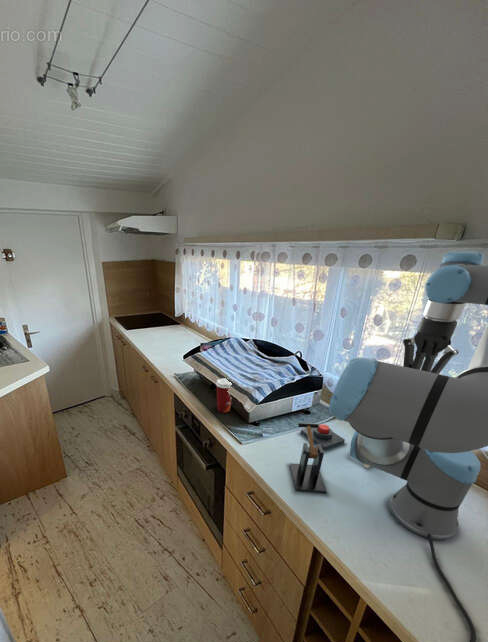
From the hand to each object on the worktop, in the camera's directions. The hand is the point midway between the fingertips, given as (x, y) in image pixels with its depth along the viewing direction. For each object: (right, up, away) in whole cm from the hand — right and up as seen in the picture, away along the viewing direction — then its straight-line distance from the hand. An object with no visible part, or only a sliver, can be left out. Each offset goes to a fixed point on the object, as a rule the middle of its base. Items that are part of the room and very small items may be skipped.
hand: (409, 398), depth 90 cm
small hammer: (-27, -13, +7) cm, 31 cm away
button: (-14, -12, +25) cm, 32 cm away
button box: (-14, -15, +27) cm, 34 cm away
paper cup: (-49, -5, +48) cm, 69 cm away
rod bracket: (-27, -26, +8) cm, 38 cm away
